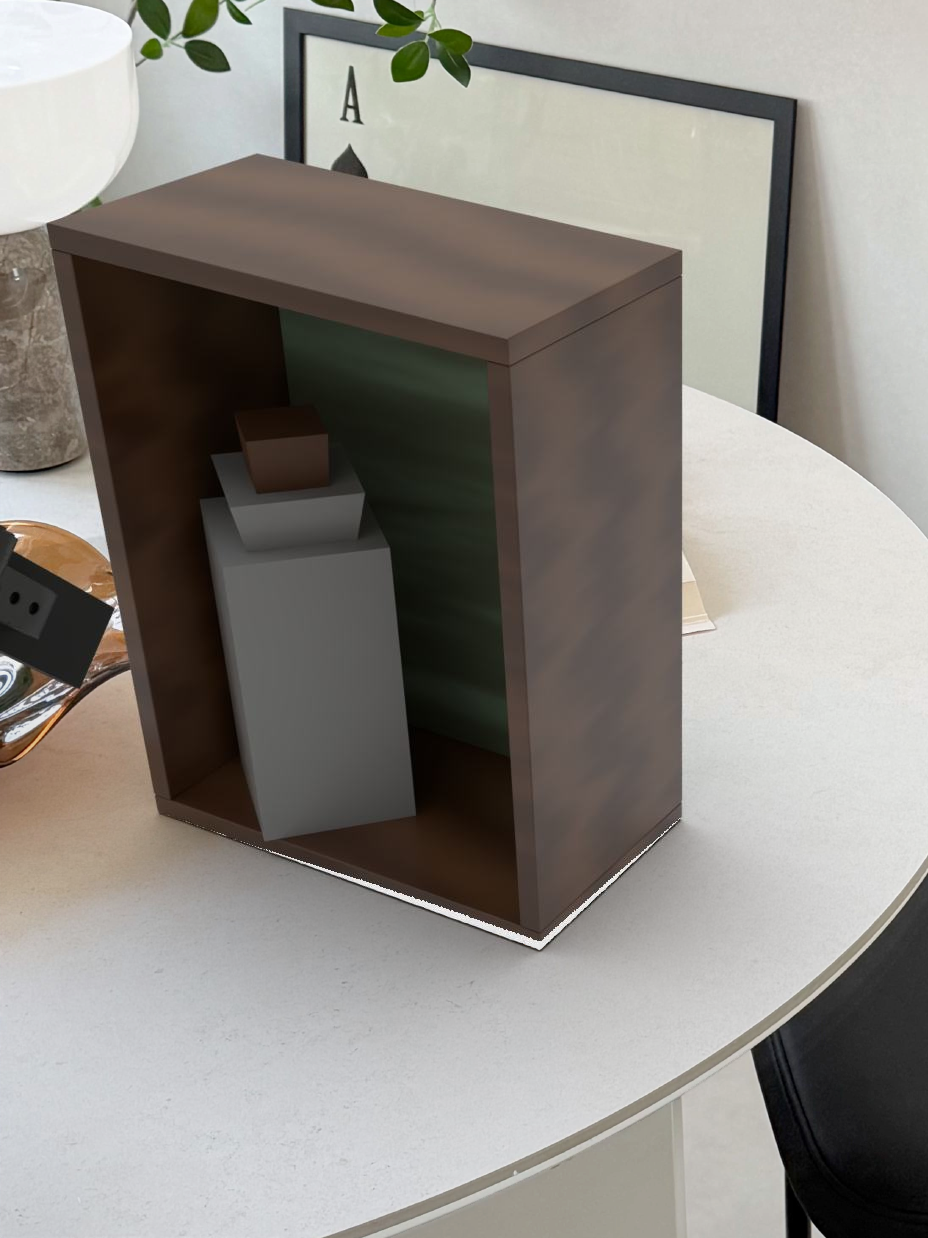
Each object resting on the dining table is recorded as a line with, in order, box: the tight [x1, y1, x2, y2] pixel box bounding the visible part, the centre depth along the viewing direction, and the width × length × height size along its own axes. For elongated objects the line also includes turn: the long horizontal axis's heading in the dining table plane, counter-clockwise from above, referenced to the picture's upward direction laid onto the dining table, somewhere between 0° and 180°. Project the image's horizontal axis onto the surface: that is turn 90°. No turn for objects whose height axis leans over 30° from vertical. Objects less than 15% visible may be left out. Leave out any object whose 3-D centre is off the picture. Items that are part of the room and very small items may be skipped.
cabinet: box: [45, 153, 683, 941], centre depth 84 cm, size 12×21×27 cm, turn 65°
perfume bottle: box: [200, 404, 416, 841], centre depth 86 cm, size 7×7×18 cm
